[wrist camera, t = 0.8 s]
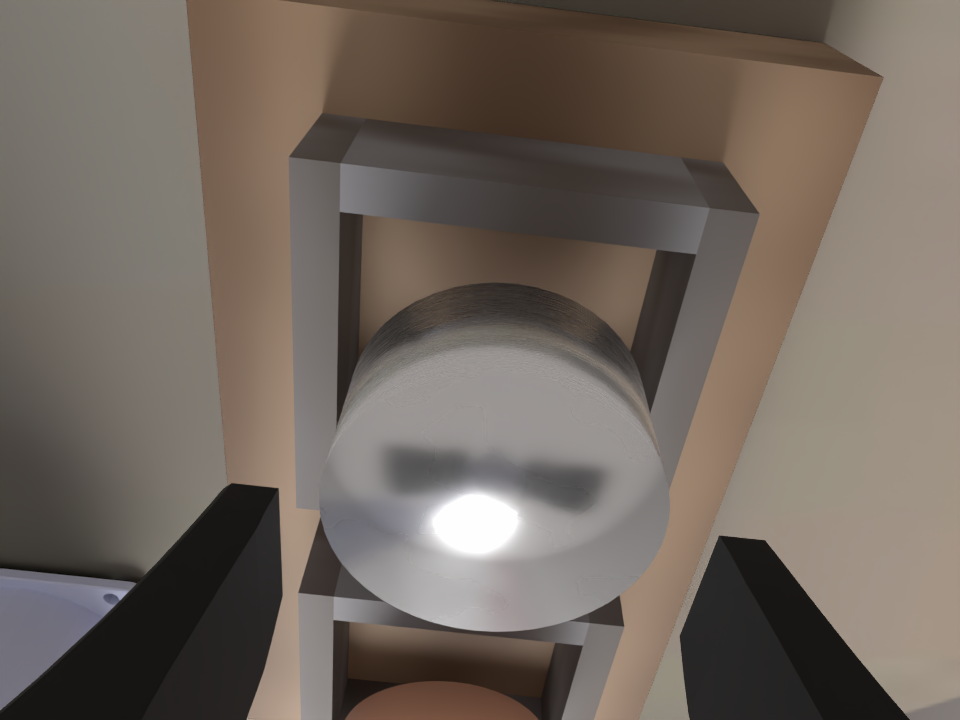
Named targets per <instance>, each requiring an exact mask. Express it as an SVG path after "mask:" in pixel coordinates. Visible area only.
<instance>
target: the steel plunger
mask: <svg viewBox="0 0 960 720" xmlns="http://www.w3.org/2000/svg"><path fill="white" fill-rule="evenodd" d="M319 507H320V517H321V521H322V524H323V528H324V532H325V534H326V537H327V539H328V541H329V543H330V545H331V548H332V549H333V551H334V552H335V554H336V556H337V557H338V559H339V560H340V562H341V563H342V564H343V566H344V567H345V568H346V569H347V570H348V571H349V573H350V574H351V575H352V576H353V577H354V578H355V579H356V580H357V581H358V582H360V583H361V584H362V585H363V586H364V587H365V588H366V589H368V590H369V591H370V592H372V593H373V594H375V595H376V596H377V597H379V598H380V599H382V600H383V601H385V602H387V603H389V604H390V605H392V606H394V607H396V608H397V609H400V610H402V611H404V612H406V613H409V614H411V615H413V616H415V617H418V618H421V619H424V620H427V621H430V622H433V623H437V624H441V625H445V626H449V627H454V628H460V629H467V630H474V631H490V632H506V631H522V630H531V629H537V628H542V627H547V626H552V625H556V624H560V623H563V622H566V621H570V620H573V619H575V618H578V617H580V616H583V615H585V614H588V613H590V612H592V611H594V610H596V609H598V608H600V607H602V606H603V605H605V604H607V603H609V602H610V601H612V600H613V599H615V598H616V597H618V596H619V595H620V594H622V593H623V592H625V591H626V590H627V589H628V588H629V587H630V586H631V585H632V584H634V583H635V582H636V581H637V580H638V579H639V578H640V576H641V575H642V574H643V573H644V572H645V571H646V569H647V568H648V567H649V566H650V564H651V563H652V561H653V559H654V558H655V556H656V555H657V553H658V551H659V549H660V547H661V544H662V542H663V540H664V538H665V534H666V530H667V526H668V522H669V513H670V497H669V489H668V483H667V479H666V475H665V471H664V467H663V463H662V459H661V455H660V451H659V447H658V443H657V439H656V435H655V431H654V427H653V423H652V419H651V415H650V411H649V408H648V404H647V400H646V396H645V392H644V388H643V384H642V380H641V377H640V373H639V370H638V367H637V365H636V363H635V361H634V359H633V357H632V355H631V352H630V351H629V349H628V348H627V347H626V345H625V344H624V342H623V341H622V339H621V338H620V337H619V336H618V335H617V333H616V332H615V331H614V330H613V329H612V328H611V327H610V326H609V325H608V324H607V323H606V322H605V321H603V320H602V319H601V318H600V317H598V316H597V315H596V314H595V313H593V312H592V311H590V310H589V309H587V308H585V307H584V306H582V305H580V304H579V303H577V302H575V301H573V300H571V299H569V298H566V297H564V296H562V295H560V294H557V293H554V292H551V291H548V290H544V289H541V288H538V287H532V286H527V285H521V284H514V283H497V282H493V283H476V284H469V285H463V286H458V287H453V288H449V289H446V290H443V291H440V292H436V293H433V294H431V295H429V296H427V297H424V298H422V299H420V300H418V301H415V302H414V303H412V304H410V305H409V306H407V307H406V308H404V309H402V310H401V311H399V312H398V313H397V314H395V315H394V316H393V317H392V318H391V319H389V320H388V321H387V322H386V323H384V325H383V326H382V327H381V328H380V329H379V330H378V331H377V332H376V333H375V334H374V336H373V337H372V338H371V340H370V341H369V343H368V344H367V346H366V347H365V349H364V350H363V352H362V354H361V356H360V358H359V360H358V363H357V365H356V367H355V370H354V374H353V377H352V380H351V383H350V386H349V390H348V393H347V396H346V399H345V403H344V406H343V409H342V412H341V415H340V419H339V422H338V425H337V428H336V432H335V435H334V438H333V441H332V444H331V448H330V451H329V454H328V457H327V460H326V464H325V467H324V471H323V474H322V478H321V482H320V492H319Z"/></svg>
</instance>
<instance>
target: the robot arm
mask: <svg viewBox="0 0 960 720" xmlns="http://www.w3.org/2000/svg"><path fill="white" fill-rule="evenodd" d="M282 597H283V586H282V560H281V533H280V507H279V488H273V487H264V486H254V485H245V484H236V483H231V484H230V485H228V486H227V487H225V488H224V489H223V490H222V491H221V492H220V493H219V494H218V496H217V497H216V498H215V499H214V500H213V501H212V503H211V504H210V505H209V506H208V507H207V508H206V509H205V511H204V512H203V513H202V514H201V515H200V516H199V517H198V519H197V520H196V521H195V522H194V523H193V524H192V525H191V526H190V527H189V529H188V530H187V531H186V532H185V533H184V534H183V535H182V536H181V537H180V539H179V540H178V541H177V542H176V543H175V544H174V545H173V546H172V547H171V548H170V549H169V550H168V551H167V553H166V554H165V555H164V556H163V557H162V558H161V559H160V560H159V561H158V562H157V563H156V564H155V565H154V566H153V567H152V568H151V569H150V570H149V571H148V572H147V573H146V574H145V576H144V577H143V578H142V579H141V580H140V581H139V582H138V583H134V582H129V581H119V580H109V579H100V578H90V577H80V576H71V575H61V574H51V573H42V572H32V571H22V570H12V569H3V568H0V720H246V719H247V717H248V714H249V711H250V708H251V706H252V703H253V700H254V697H255V695H256V692H257V689H258V686H259V684H260V681H261V678H262V675H263V672H264V669H265V665H266V661H267V657H268V654H269V650H270V646H271V642H272V638H273V634H274V630H275V626H276V621H277V617H278V613H279V609H280V605H281V601H282ZM680 643H681V653H682V663H683V672H684V681H685V689H686V697H687V705H688V713H689V718H690V720H910V719H909V718H908V717H907V716H906V715H905V714H904V712H903V711H902V710H901V709H900V708H899V707H898V706H897V704H896V703H895V702H894V701H893V700H892V699H891V697H890V696H889V695H888V694H887V693H886V691H885V690H884V689H883V688H882V687H881V686H880V684H879V683H878V682H877V681H876V680H875V678H874V677H873V676H872V675H871V673H870V672H869V671H868V670H867V669H866V667H865V666H864V665H863V664H862V663H861V661H860V660H859V659H858V658H857V656H856V655H855V654H854V653H853V652H852V650H851V649H850V648H849V647H848V645H847V644H846V643H845V642H844V640H843V639H842V638H841V637H840V635H839V634H838V633H837V632H836V630H835V629H834V628H833V627H832V625H831V624H830V623H829V621H828V620H827V619H826V618H825V616H824V615H823V614H822V613H821V611H820V610H819V609H818V607H817V606H816V605H815V604H814V602H813V601H812V600H811V599H810V597H809V596H808V595H807V593H806V592H805V591H804V589H803V588H802V587H801V586H800V584H799V583H798V582H797V580H796V579H795V578H794V577H793V575H792V574H791V573H790V571H789V570H788V569H787V568H786V566H785V565H784V564H783V562H782V561H781V560H780V559H779V557H778V556H777V555H776V554H775V552H774V551H773V550H772V549H771V547H770V546H769V545H768V544H767V542H766V541H765V540H756V539H746V538H737V537H728V536H719V538H718V540H717V543H716V545H715V548H714V550H713V553H712V555H711V558H710V561H709V563H708V566H707V568H706V571H705V573H704V576H703V578H702V581H701V583H700V586H699V589H698V591H697V594H696V596H695V599H694V601H693V604H692V606H691V609H690V612H689V614H688V617H687V619H686V622H685V624H684V627H683V629H682V632H681V635H680Z"/></svg>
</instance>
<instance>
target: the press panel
mask: <svg viewBox="0 0 960 720" xmlns="http://www.w3.org/2000/svg"><path fill="white" fill-rule="evenodd" d="M186 3H187V14H188V26H189V38H190V49H191V61H192V73H193V85H194V96H195V108H196V120H197V131H198V143H199V155H200V167H201V178H202V190H203V202H204V213H205V225H206V237H207V249H208V260H209V272H210V284H211V295H212V307H213V319H214V331H215V342H216V354H217V366H218V377H219V389H220V401H221V413H222V424H223V436H224V448H225V460H226V471H227V483H228V485H230V484H231V483H236V484H245V485H254V486H264V487H273V488H279V507H280V533H281V560H282V586H283V597H282V601H281V605H280V609H279V613H278V617H277V621H276V626H275V630H274V634H273V638H272V642H271V646H270V650H269V654H268V657H267V661H266V665H265V669H264V672H263V675H262V678H261V681H260V684H259V686H258V689H257V692H256V695H255V697H254V700H253V703H252V706H251V708H250V711H249V714H248V719H252V720H345V719H346V717H347V716H348V714H349V713H350V712H351V711H352V709H353V708H354V707H355V706H356V705H358V704H359V703H360V702H362V701H363V700H364V699H366V698H368V697H369V696H371V695H373V694H375V693H377V692H380V691H382V690H385V689H388V688H391V687H394V686H398V685H403V684H408V683H415V682H424V681H447V682H459V683H466V684H471V685H476V686H480V687H484V688H487V689H490V690H493V691H496V692H499V693H501V694H503V695H506V696H508V697H510V698H512V699H514V700H515V701H517V702H519V703H520V704H522V705H523V706H525V707H526V708H527V709H529V710H530V711H531V712H532V713H533V714H534V715H535V716H536V717H537V718H538V719H539V720H639V717H640V714H641V712H642V709H643V707H644V704H645V701H646V699H647V696H648V694H649V691H650V688H651V686H652V683H653V680H654V678H655V675H656V673H657V670H658V667H659V665H660V662H661V659H662V657H663V654H664V652H665V649H666V646H667V644H668V641H669V638H670V636H671V633H672V631H673V628H674V625H675V623H676V620H677V618H678V615H679V612H680V610H681V607H682V604H683V602H684V599H685V597H686V594H687V591H688V589H689V586H690V583H691V581H692V578H693V576H694V573H695V570H696V568H697V565H698V562H699V560H700V557H701V555H702V552H703V549H704V547H705V544H706V542H707V539H708V536H709V534H710V531H711V528H712V526H713V523H714V521H715V518H716V515H717V513H718V510H719V507H720V505H721V502H722V500H723V497H724V494H725V492H726V489H727V487H728V484H729V481H730V479H731V476H732V473H733V471H734V468H735V466H736V463H737V460H738V458H739V455H740V452H741V450H742V447H743V445H744V442H745V439H746V437H747V434H748V431H749V429H750V426H751V424H752V421H753V418H754V416H755V413H756V411H757V408H758V405H759V403H760V400H761V397H762V395H763V392H764V390H765V387H766V384H767V382H768V379H769V376H770V374H771V371H772V369H773V366H774V363H775V361H776V358H777V355H778V353H779V350H780V348H781V345H782V342H783V340H784V337H785V335H786V332H787V329H788V327H789V324H790V321H791V319H792V316H793V314H794V311H795V308H796V306H797V303H798V300H799V298H800V295H801V293H802V290H803V287H804V285H805V282H806V279H807V277H808V274H809V272H810V269H811V266H812V264H813V261H814V259H815V256H816V253H817V251H818V248H819V245H820V243H821V240H822V238H823V235H824V232H825V230H826V227H827V224H828V222H829V219H830V217H831V214H832V211H833V209H834V206H835V204H836V201H837V198H838V196H839V193H840V190H841V188H842V185H843V183H844V180H845V177H846V175H847V172H848V169H849V167H850V164H851V162H852V159H853V156H854V154H855V151H856V148H857V146H858V143H859V141H860V138H861V135H862V133H863V130H864V128H865V125H866V122H867V120H868V117H869V114H870V112H871V109H872V107H873V104H874V101H875V99H876V96H877V93H878V91H879V88H880V86H881V83H882V80H883V78H884V77H882V76H881V75H879V74H877V73H875V72H874V71H872V70H870V69H868V68H867V67H865V66H863V65H861V64H860V63H858V62H856V61H854V60H853V59H851V58H849V57H847V56H846V55H844V54H842V53H840V52H839V51H837V50H835V49H833V48H832V47H830V46H828V45H827V44H825V43H818V42H810V41H802V40H794V39H787V38H779V37H771V36H763V35H755V34H748V33H740V32H732V31H724V30H717V29H709V28H701V27H693V26H686V25H678V24H670V23H662V22H654V21H647V20H639V19H631V18H623V17H616V16H608V15H600V14H592V13H585V12H577V11H569V10H561V9H553V8H546V7H538V6H530V5H522V4H515V3H507V2H499V1H491V0H186ZM493 282H497V283H514V284H521V285H527V286H532V287H538V288H541V289H544V290H548V291H551V292H554V293H557V294H560V295H562V296H564V297H566V298H569V299H571V300H573V301H575V302H577V303H579V304H580V305H582V306H584V307H585V308H587V309H589V310H590V311H592V312H593V313H595V314H596V315H597V316H598V317H600V318H601V319H602V320H603V321H605V322H606V323H607V324H608V325H609V326H610V327H611V328H612V329H613V330H614V331H615V332H616V333H617V335H618V336H619V337H620V338H621V339H622V341H623V342H624V344H625V345H626V347H627V348H628V349H629V351H630V352H631V355H632V357H633V359H634V361H635V363H636V365H637V367H638V370H639V373H640V377H641V380H642V384H643V388H644V392H645V396H646V400H647V404H648V408H649V411H650V415H651V419H652V423H653V427H654V431H655V435H656V439H657V443H658V447H659V451H660V455H661V459H662V463H663V467H664V471H665V475H666V479H667V483H668V489H669V497H670V513H669V522H668V526H667V530H666V534H665V538H664V540H663V542H662V544H661V547H660V549H659V551H658V553H657V555H656V556H655V558H654V559H653V561H652V563H651V564H650V566H649V567H648V568H647V569H646V571H645V572H644V573H643V574H642V575H641V576H640V578H639V579H638V580H637V581H636V582H635V583H634V584H632V585H631V586H630V587H629V588H628V589H627V590H626V591H625V592H623V593H622V594H620V595H619V596H618V597H616V598H615V599H613V600H612V601H610V602H609V603H607V604H605V605H603V606H602V607H600V608H598V609H596V610H594V611H592V612H590V613H588V614H585V615H583V616H580V617H578V618H575V619H573V620H570V621H566V622H563V623H560V624H556V625H552V626H547V627H542V628H537V629H531V630H522V631H506V632H490V631H474V630H467V629H460V628H454V627H449V626H445V625H441V624H437V623H433V622H430V621H427V620H424V619H421V618H418V617H415V616H413V615H411V614H409V613H406V612H404V611H402V610H400V609H397V608H396V607H394V606H392V605H390V604H389V603H387V602H385V601H383V600H382V599H380V598H379V597H377V596H376V595H375V594H373V593H372V592H370V591H369V590H368V589H366V588H365V587H364V586H363V585H362V584H361V583H360V582H358V581H357V580H356V579H355V578H354V577H353V576H352V575H351V574H350V573H349V571H348V570H347V569H346V568H345V567H344V566H343V564H342V563H341V562H340V560H339V559H338V557H337V556H336V554H335V552H334V551H333V549H332V548H331V545H330V543H329V541H328V539H327V537H326V534H325V532H324V528H323V524H322V521H321V517H320V507H319V492H320V482H321V478H322V474H323V471H324V467H325V464H326V460H327V457H328V454H329V451H330V448H331V444H332V441H333V438H334V435H335V432H336V428H337V425H338V422H339V419H340V415H341V412H342V409H343V406H344V403H345V399H346V396H347V393H348V390H349V386H350V383H351V380H352V377H353V374H354V370H355V367H356V365H357V363H358V360H359V358H360V356H361V354H362V352H363V350H364V349H365V347H366V346H367V344H368V343H369V341H370V340H371V338H372V337H373V336H374V334H375V333H376V332H377V331H378V330H379V329H380V328H381V327H382V326H383V325H384V323H386V322H387V321H388V320H389V319H391V318H392V317H393V316H394V315H395V314H397V313H398V312H399V311H401V310H402V309H404V308H406V307H407V306H409V305H410V304H412V303H414V302H415V301H418V300H420V299H422V298H424V297H427V296H429V295H431V294H433V293H436V292H440V291H443V290H446V289H449V288H453V287H458V286H463V285H469V284H476V283H493Z"/></svg>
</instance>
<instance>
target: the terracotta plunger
mask: <svg viewBox="0 0 960 720" xmlns="http://www.w3.org/2000/svg"><path fill="white" fill-rule="evenodd" d="M345 720H539V719H538V718H537V717H536V716H535V715H534V714H533V713H532V712H531V711H530V710H529V709H527V708H526V707H525V706H523V705H522V704H520V703H519V702H517V701H515V700H514V699H512V698H510V697H508V696H506V695H503V694H501V693H499V692H496V691H493V690H490V689H487V688H484V687H480V686H476V685H471V684H466V683H459V682H447V681H424V682H415V683H408V684H403V685H398V686H394V687H391V688H388V689H385V690H382V691H380V692H377V693H375V694H373V695H371V696H369V697H368V698H366V699H364V700H363V701H362V702H360V703H359V704H358V705H356V706H355V707H354V708H353V709H352V711H351V712H350V713H349V714H348V716H347V717H346V719H345Z"/></svg>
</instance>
